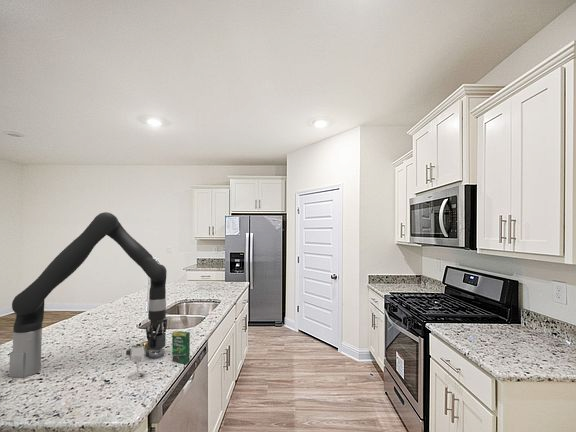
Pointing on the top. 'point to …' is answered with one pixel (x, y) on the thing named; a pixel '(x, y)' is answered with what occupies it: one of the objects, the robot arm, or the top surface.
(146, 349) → the socket
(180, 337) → the coffee box
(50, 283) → the robot arm
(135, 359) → the wineglass
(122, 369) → the top surface
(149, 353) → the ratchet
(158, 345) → the socket
